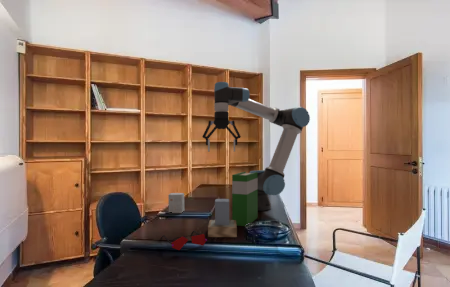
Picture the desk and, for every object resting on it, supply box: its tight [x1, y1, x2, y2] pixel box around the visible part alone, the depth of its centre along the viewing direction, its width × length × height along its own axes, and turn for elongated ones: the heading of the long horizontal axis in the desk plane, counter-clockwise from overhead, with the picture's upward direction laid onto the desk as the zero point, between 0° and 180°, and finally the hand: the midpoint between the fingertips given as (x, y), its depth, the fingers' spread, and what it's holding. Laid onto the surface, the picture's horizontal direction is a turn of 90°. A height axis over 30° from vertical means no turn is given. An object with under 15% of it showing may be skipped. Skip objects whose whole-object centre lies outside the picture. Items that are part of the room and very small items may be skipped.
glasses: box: [160, 230, 208, 251], centre depth 117 cm, size 14×16×5 cm
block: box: [214, 198, 230, 225], centre depth 129 cm, size 6×6×10 cm
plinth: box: [207, 219, 238, 238], centre depth 129 cm, size 12×12×4 cm
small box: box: [167, 192, 185, 214], centre depth 168 cm, size 8×6×10 cm
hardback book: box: [231, 171, 258, 227], centre depth 148 cm, size 18×7×24 cm, turn 157°
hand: (221, 151), depth 157 cm, fingers open, 13 cm apart
